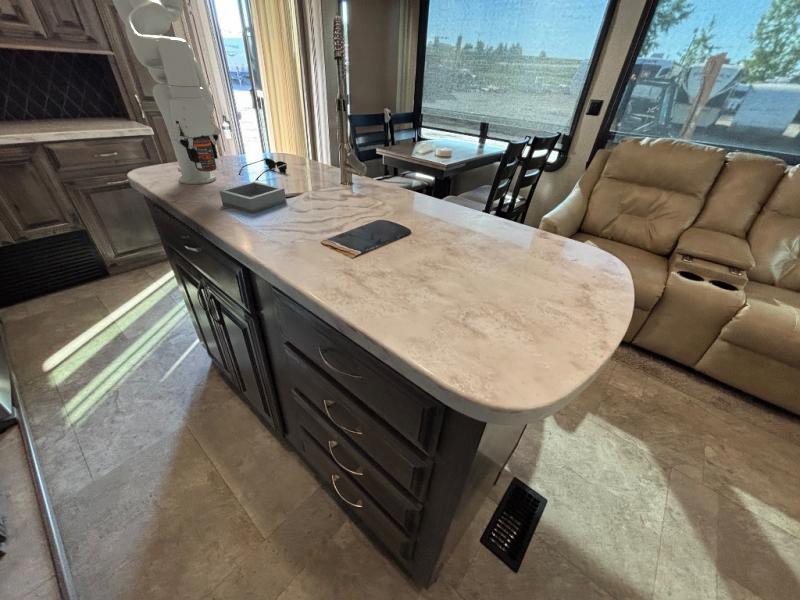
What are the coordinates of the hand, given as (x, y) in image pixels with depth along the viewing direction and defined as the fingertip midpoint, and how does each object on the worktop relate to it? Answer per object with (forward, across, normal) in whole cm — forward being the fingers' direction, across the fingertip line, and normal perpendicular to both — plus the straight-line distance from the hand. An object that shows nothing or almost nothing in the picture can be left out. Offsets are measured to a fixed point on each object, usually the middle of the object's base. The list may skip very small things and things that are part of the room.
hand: (204, 159), depth 103 cm
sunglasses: (+14, -32, -12) cm, 37 cm away
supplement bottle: (+3, 0, 0) cm, 3 cm away
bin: (+12, -4, +14) cm, 19 cm away
